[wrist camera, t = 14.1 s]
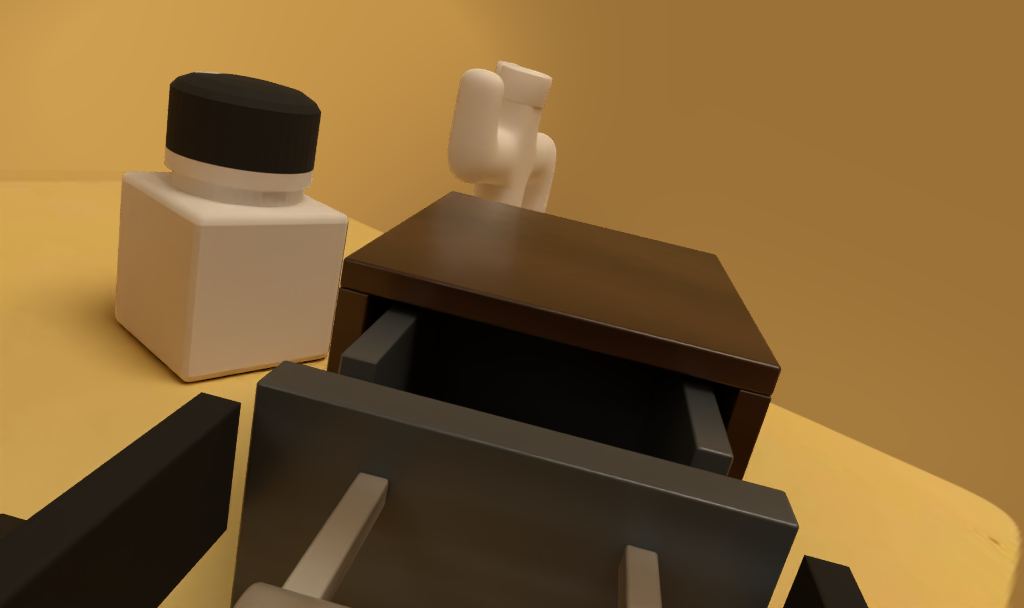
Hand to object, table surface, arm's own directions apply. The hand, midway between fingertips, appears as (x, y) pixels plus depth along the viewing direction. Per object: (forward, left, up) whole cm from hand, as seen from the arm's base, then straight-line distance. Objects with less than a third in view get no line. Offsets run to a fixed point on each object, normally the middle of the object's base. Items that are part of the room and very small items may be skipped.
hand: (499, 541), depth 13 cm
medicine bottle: (+1, +24, -7) cm, 25 cm away
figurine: (+15, +25, -7) cm, 30 cm away
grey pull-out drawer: (+2, +3, -6) cm, 7 cm away
